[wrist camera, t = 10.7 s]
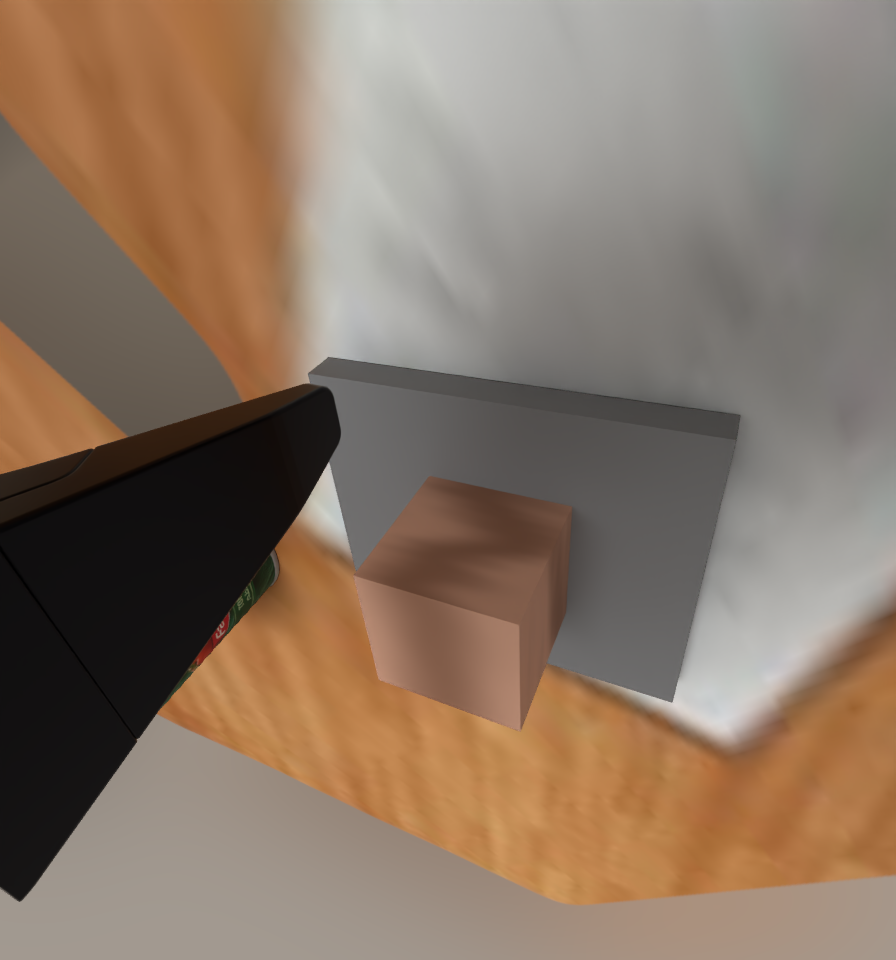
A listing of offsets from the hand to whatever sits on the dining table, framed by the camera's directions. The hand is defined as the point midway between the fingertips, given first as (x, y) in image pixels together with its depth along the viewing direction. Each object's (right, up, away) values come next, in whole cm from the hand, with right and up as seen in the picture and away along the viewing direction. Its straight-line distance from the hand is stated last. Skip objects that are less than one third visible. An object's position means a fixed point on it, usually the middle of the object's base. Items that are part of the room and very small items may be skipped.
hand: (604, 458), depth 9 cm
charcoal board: (+1, -2, +18) cm, 19 cm away
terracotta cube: (0, -3, +17) cm, 18 cm away
